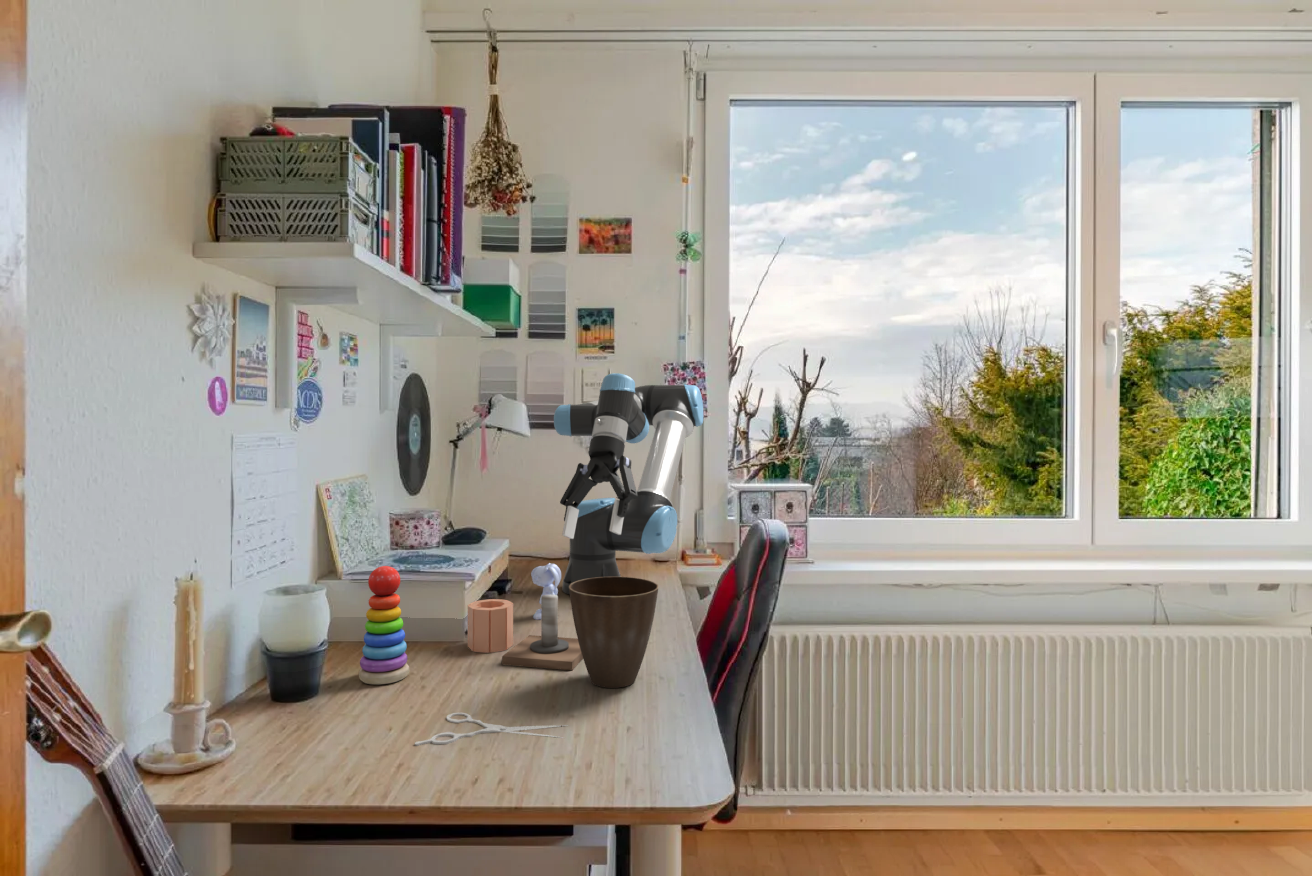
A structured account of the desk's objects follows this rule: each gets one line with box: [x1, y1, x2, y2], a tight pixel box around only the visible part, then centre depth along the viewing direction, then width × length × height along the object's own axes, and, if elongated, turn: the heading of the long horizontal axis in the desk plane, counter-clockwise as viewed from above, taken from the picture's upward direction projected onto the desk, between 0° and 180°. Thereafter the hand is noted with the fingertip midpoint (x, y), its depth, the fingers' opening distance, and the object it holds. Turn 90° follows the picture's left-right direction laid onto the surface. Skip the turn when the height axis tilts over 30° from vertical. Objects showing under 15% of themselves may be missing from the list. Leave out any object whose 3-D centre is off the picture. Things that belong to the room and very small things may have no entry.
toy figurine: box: [530, 562, 562, 620], centre depth 162 cm, size 7×6×12 cm
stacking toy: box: [358, 565, 410, 685], centre depth 123 cm, size 8×8×19 cm
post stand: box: [501, 594, 584, 671], centre depth 135 cm, size 13×13×11 cm
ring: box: [467, 598, 514, 654], centre depth 141 cm, size 8×8×8 cm
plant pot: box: [569, 576, 659, 689], centre depth 123 cm, size 15×15×16 cm
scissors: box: [414, 712, 569, 747], centre depth 103 cm, size 11×1×20 cm
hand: (590, 535), depth 151 cm, fingers open, 13 cm apart
